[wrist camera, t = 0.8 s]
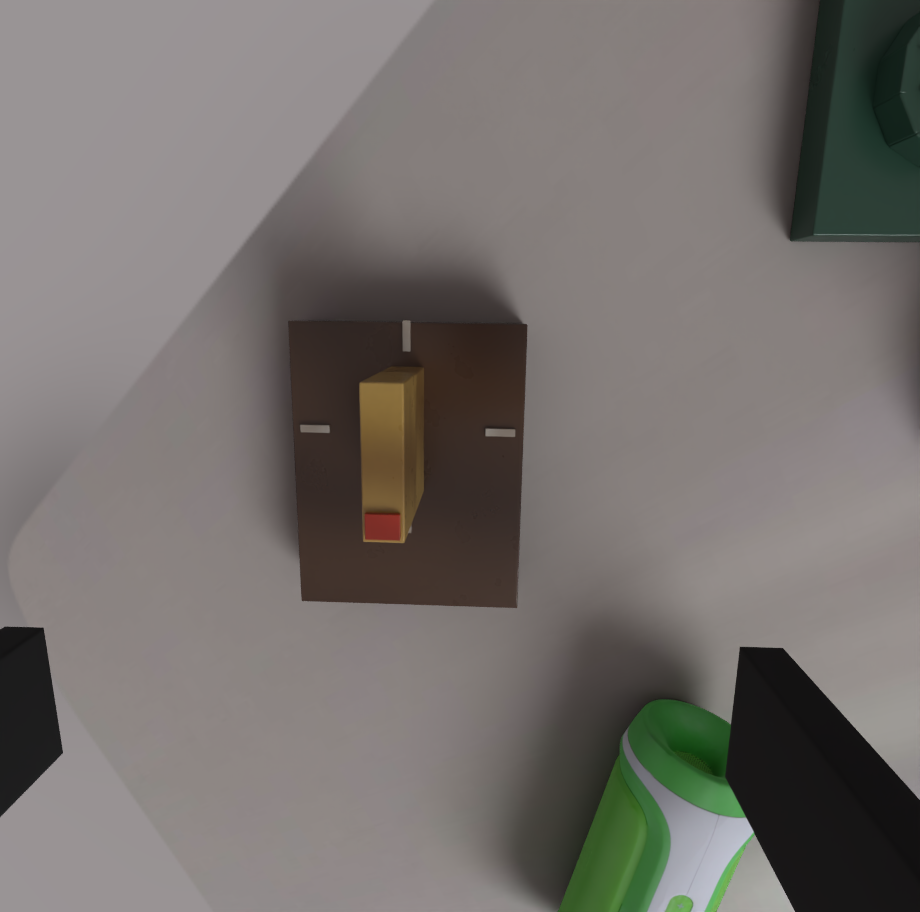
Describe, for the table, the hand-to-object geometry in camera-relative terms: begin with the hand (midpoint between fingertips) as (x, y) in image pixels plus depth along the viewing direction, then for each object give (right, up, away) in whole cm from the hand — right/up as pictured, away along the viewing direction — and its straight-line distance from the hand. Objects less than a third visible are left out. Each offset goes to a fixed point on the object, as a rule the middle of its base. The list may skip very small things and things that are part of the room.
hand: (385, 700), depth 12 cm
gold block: (-1, +6, +17) cm, 18 cm away
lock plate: (-1, +5, +21) cm, 21 cm away
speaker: (+12, -17, +25) cm, 33 cm away
